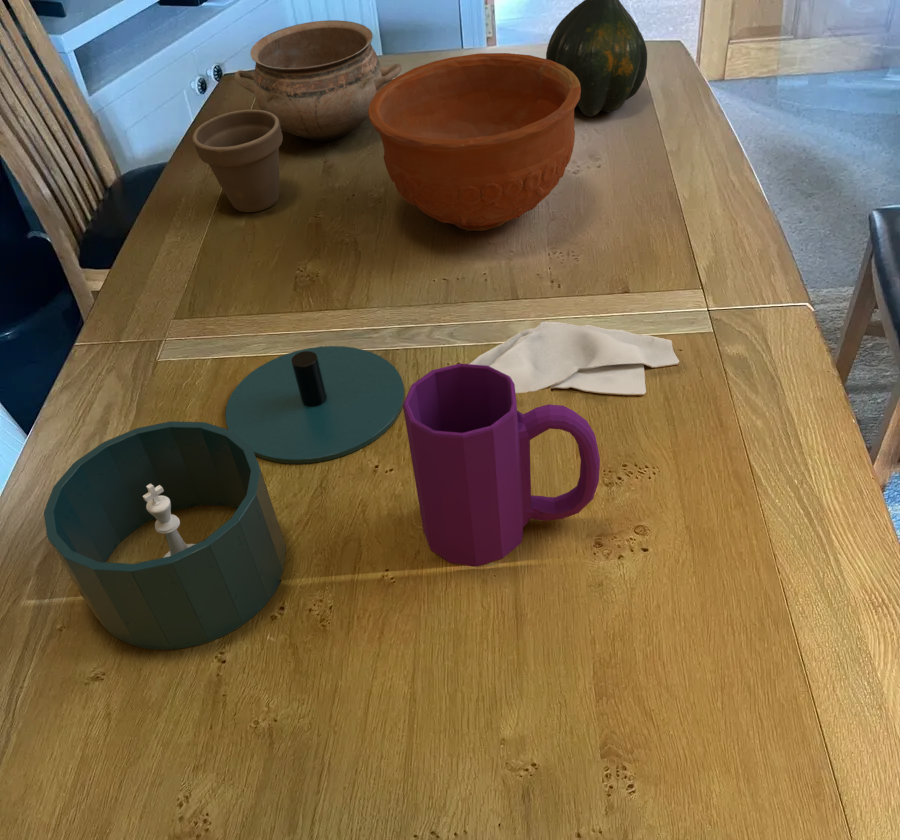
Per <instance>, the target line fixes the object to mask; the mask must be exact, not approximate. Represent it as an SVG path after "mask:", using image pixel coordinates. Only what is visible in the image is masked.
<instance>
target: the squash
mask: <svg viewBox="0 0 900 840" xmlns="http://www.w3.org/2000/svg"><path fill="white" fill-rule="evenodd" d="M545 59H548V60H551V61H554V62H556V63H558V64H561V65H563V66H565V67H566V68H568V69H569V70H570V71H572V72H573V73H574V75H575V76H576V77H577V78H578V80H579V82H580V88H581V93H580V100H579V101H578V103H577V105H576V107H578V108H579V110H580V112H581V113H582V114H584V115H585V116H588V117H594V116H596V115H598V114H599V113H600V112H601V111H604V112H606V113H607V112H608V113H609V112H614V111H615V110H618V109H619V108H620V107H622V106H623V105H624V103H625V101H628V100H629V99H630V98H632V97H633V96H635V95H636V94H637V92H638V91H639V89H640V87H641V86H642V85H643V83H644V80H645V77H646V73H647V68H648V49H647V45H646V41H645V39H644V37H643V34H642V33H641V31H640V28H639V27H638V24H637V23H636V22H635V20H634V18H633V17H632V15H631V14H630V13H629V11H628V10H627V9H626V8H625V7H624V5H623V4H622V3H621V1H620V0H583V1H581V2H580V3H579V4H577V5H575V7H574V8H573V9H571V10H570V11H569V13H567V14H566V15H565V16H564V17H563V18H562V19H561V21H560V22H559V23H558V25H556V27H555V29H554V31H553V33H552V34H551V37H550V38H549V41H548V45H547V48H546V52H545Z"/></svg>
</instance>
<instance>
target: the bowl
mask: <svg viewBox="0 0 900 840" xmlns="http://www.w3.org/2000/svg"><path fill="white" fill-rule="evenodd" d="M580 93H581V88H580V82H579V80H578V78H577V77H576V76H575V75H574V73H573V72H572V71H570V70H569V69H568V68H566V67H565V66H563V65H561V64H558V63H556V62H554V61H551V60H548V59H546V58H544V57H539V56H535V55H531V54H520V53H510V52H509V53H508V52H498V53H497V52H488V53H486V52H484V53H482V52H481V53H472V54H467V55H459V56H452V57H447V58H443V59H438V60H434V61H430V62H428V63H424V64H422V65H419V66H416V67H414V68H412V69H410V70H408V71H406V72H404V73H402V74H400V75H397V76H396V77H395V78H393V79H392V80H391V81H389V82H387V83H385V84H384V86H383V88H381V89H380V90H379V91H378V92H377V93H376V94H375V95H374V97H373V99H372V101H371V103H370V104H369V109H368V115H369V117H368V119H369V121H370V123H371V125H372V127H373V128H374V129H375V131H376V132H378V134H380V140H381V143H382V146H383V161H384V165H385V168H386V171H387V174H388V176H389V178H390V180H391V182H392V183H393V185H394V187H395V188H396V190H397V192H398V193H399V195H400V196H401V197H402V198H403V200H404V201H406V202H407V203H408V204H409V205H410V206H415V207H416V208H418V209H419V210H420V212H422V213H424V214H425V215H427V216H428V217H431V218H433V219H435V220H437V221H438V222H439V223H444V224H445V223H446V224H451V225H455V226H456V227H457V228H459V229H462V230H464V231H469V232H470V231H473V232H474V231H475V232H484V231H488V230H491V229H495V228H498V227H500V226H503V225H504V224H505V223H507V222H508V221H511V220H514V219H518V218H521V216H522V215H524V214H525V213H527V212H529V211H532V210H534V209H536V208H537V206H538V205H539V203H541V202H542V201H543V200H544V199H546V197H547V196H549V195H550V194H551V192H552V191H553V189H554V188H555V187H557V186H558V184H559V182H560V179H562V178H563V177H564V175H565V173H566V169H567V167H568V165H569V163H570V161H571V158H572V155H573V151H574V147H575V141H576V140H575V139H576V138H575V137H576V131H575V108H576V107H577V106H576V105H577V103H578V101H579V100H580Z"/></svg>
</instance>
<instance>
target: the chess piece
mask: <svg viewBox="0 0 900 840" xmlns="http://www.w3.org/2000/svg"><path fill="white" fill-rule="evenodd" d="M146 487H147V489H148V491H149V492H148V493H146V494H145V495H143V498H144V500H145V501H146V502H147V505H146V509H147V510H148V512H149V513H150V514H151V515H153V516H154V517H155V519H156V521H155V523H154V529H155V532H157V533H158V534H163V535H165V538H166V543H167V545H168V548H169V551H167V553H165V554H164V555H163V557H162V558H164V557H169V556H171V555H174V554H176V553H178V552H180V551H182V550H184V549H186V548H189V547H191V546H193V545H195V544H196V543H186V541H184V539H183V538H182V536H181V535H180V533H179V531H178V528H179V527H180V525H181V520H180V518H179V517H178V516H177V515H175V514H172V511H171V502H170V499H169V498H168V497H166V496H162V495H160V496H158V495H159V494H160V493H162V492H163V491H164V490H163V488H162V487H161V486H160V485H158V486H157V487H155V488H154V486H153V485H152V484H151V483H150V484H149V485H147V486H146Z"/></svg>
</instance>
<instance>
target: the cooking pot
mask: <svg viewBox="0 0 900 840" xmlns="http://www.w3.org/2000/svg"><path fill="white" fill-rule="evenodd" d="M373 38H374V36H373V32H372V30H371V29H370V28H369V27H367V26H366V25H364V24H361V23H358V22H355V21H349V20H336V19H335V20H334V19H333V20H332V19H331V20H315V21H309V22H304V23H303V22H302V23H297V24H293V25H290V26H287V27H284V28H281V29H278V30H276V31H273V32H271V33H268V34H267V35H265V36H263V37H261V38H260V39H259V40H258V41H256V42H255V43H254V45H253V46H252V47H251V49H250V53H249V55H250V57H251V59H252V61H254V62H255V66H254V72H251V71H247V70H242V69H241V70H240V69H239V70H237V71H235V73H234V80H235V82H236V83H237V84H238V85H239V86H241V87H242V88H243V89H245V90H247V91H248V92H250V93H252V94H254V97H255V100H256V104H257V106H258V108H259V110H263V111H267V112H270V113H272V114H274V115H275V116H276V117H277V118H278V120H279V122H280V127H281V131H283V132H286V133H288V134H291V135H295V136H297V137H300V138H304V139H307V140H309V141H311V142H317V143H327V142H334V141H337V140H340V139H342V138H344V137H345V136H347V135H349V133H350V132H352V131H353V130H355V129H356V128H357V127H358V126H360V125H361V124H362V123H363V122H365V121H366V120H367V119H369V115H368V109H369V104H370V103H371V101H372V99H373V97H374V95H375V94H376V93H377V92H378V91H379V90H380V89H381V88H383V87H384V86H385V85H386V84H388V83H389V82H390V81H392V80H393V79H394V78H396V77H398V76H399V74H400V73H401V72H402V65H401V64H399V63H396V64H393V65H389V66H382V63H381V62H380V59H379V57H378V55H377V52H376V51H375V49H374V48H373V45H372V44H371V43H372V41H373ZM243 78H244V79H243ZM245 79H248V80H251V81H253V82H249V81H246V80H245Z"/></svg>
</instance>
